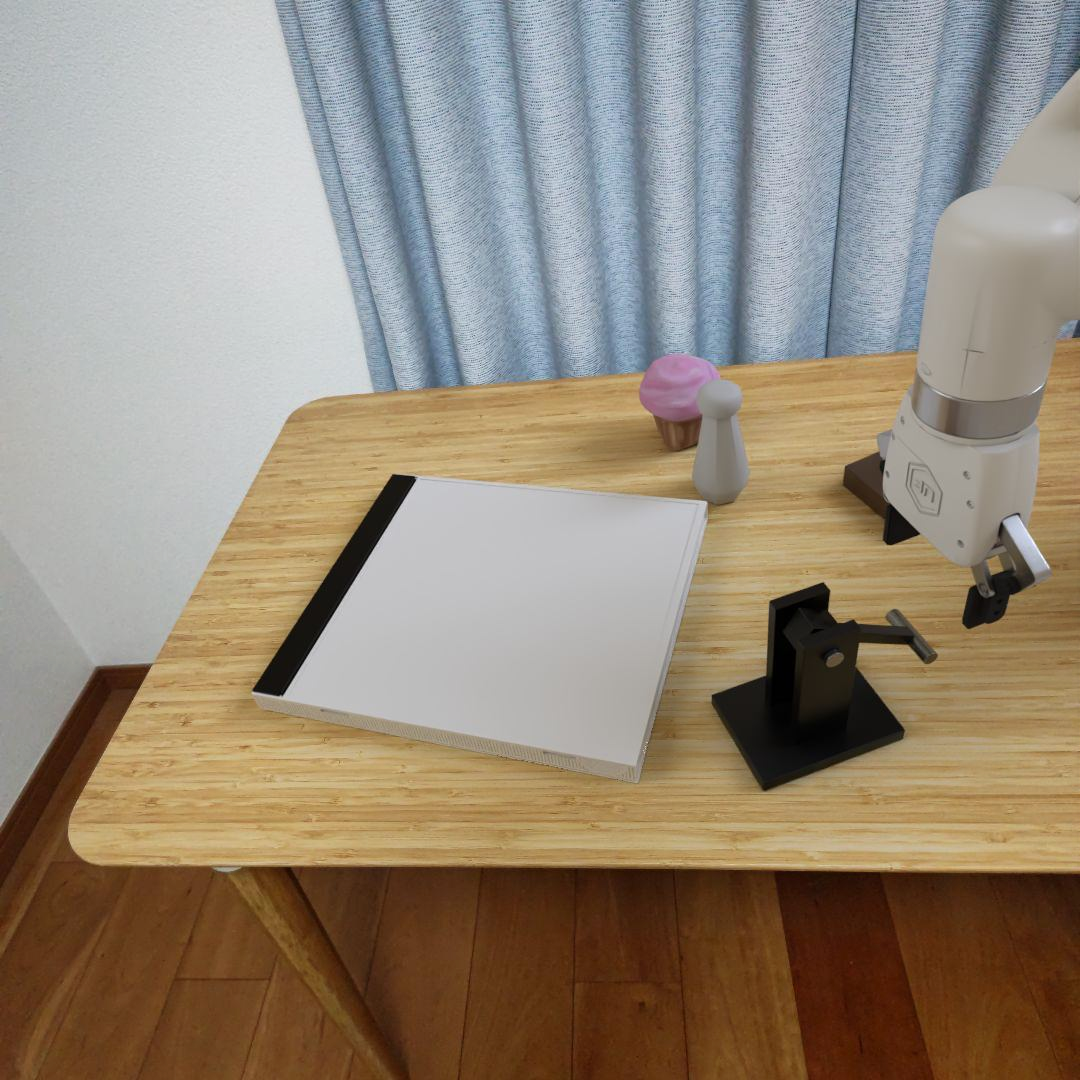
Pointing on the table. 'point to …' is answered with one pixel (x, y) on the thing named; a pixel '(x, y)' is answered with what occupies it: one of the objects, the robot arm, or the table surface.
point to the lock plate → (867, 482)
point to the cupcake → (676, 396)
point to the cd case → (498, 621)
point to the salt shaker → (720, 444)
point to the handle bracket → (805, 700)
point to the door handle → (862, 631)
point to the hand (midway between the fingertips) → (940, 577)
